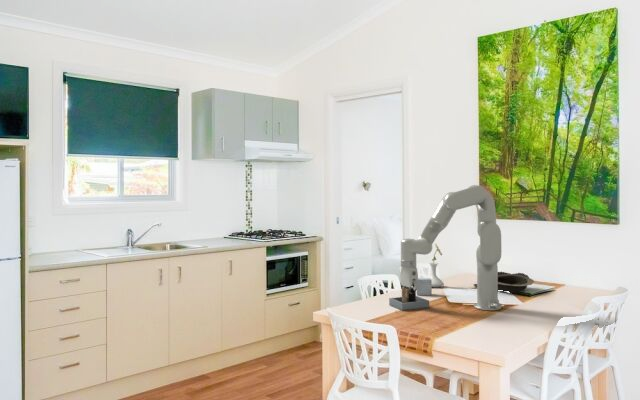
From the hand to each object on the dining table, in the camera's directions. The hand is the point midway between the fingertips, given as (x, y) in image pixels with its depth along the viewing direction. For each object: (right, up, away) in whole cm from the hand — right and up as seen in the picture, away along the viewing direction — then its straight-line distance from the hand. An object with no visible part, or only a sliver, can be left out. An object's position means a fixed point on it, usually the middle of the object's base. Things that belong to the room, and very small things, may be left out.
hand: (408, 300), depth 263 cm
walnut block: (0, -1, 0) cm, 1 cm away
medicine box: (+13, -2, +26) cm, 29 cm away
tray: (0, -3, 0) cm, 3 cm away
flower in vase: (+23, -1, +47) cm, 53 cm away
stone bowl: (+62, -1, +32) cm, 70 cm away
